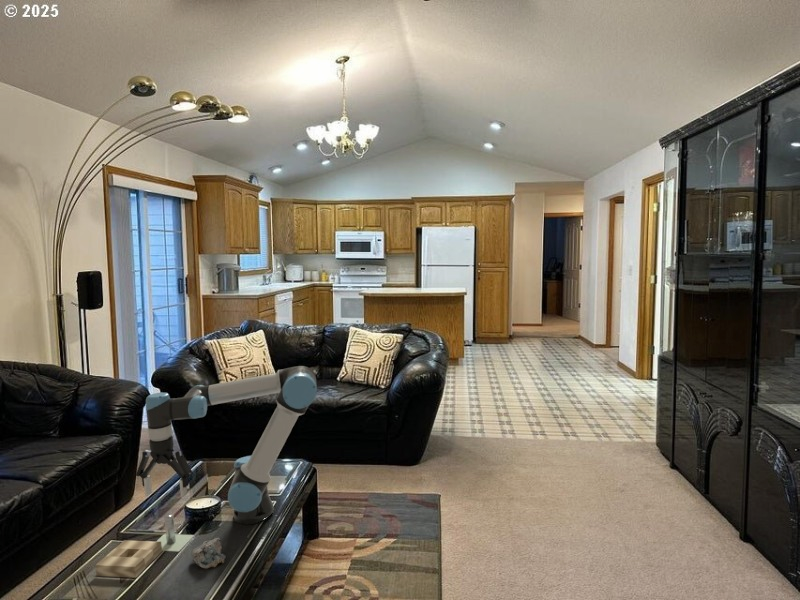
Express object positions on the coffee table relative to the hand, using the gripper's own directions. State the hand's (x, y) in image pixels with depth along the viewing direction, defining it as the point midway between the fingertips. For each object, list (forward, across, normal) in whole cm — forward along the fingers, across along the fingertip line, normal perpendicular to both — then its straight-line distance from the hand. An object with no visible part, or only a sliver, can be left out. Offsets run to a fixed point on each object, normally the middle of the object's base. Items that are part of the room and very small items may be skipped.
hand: (166, 495), depth 180 cm
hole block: (+18, +7, +12) cm, 23 cm away
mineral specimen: (+18, -20, +10) cm, 29 cm away
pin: (+18, 0, 0) cm, 18 cm away
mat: (+18, 0, 0) cm, 18 cm away
